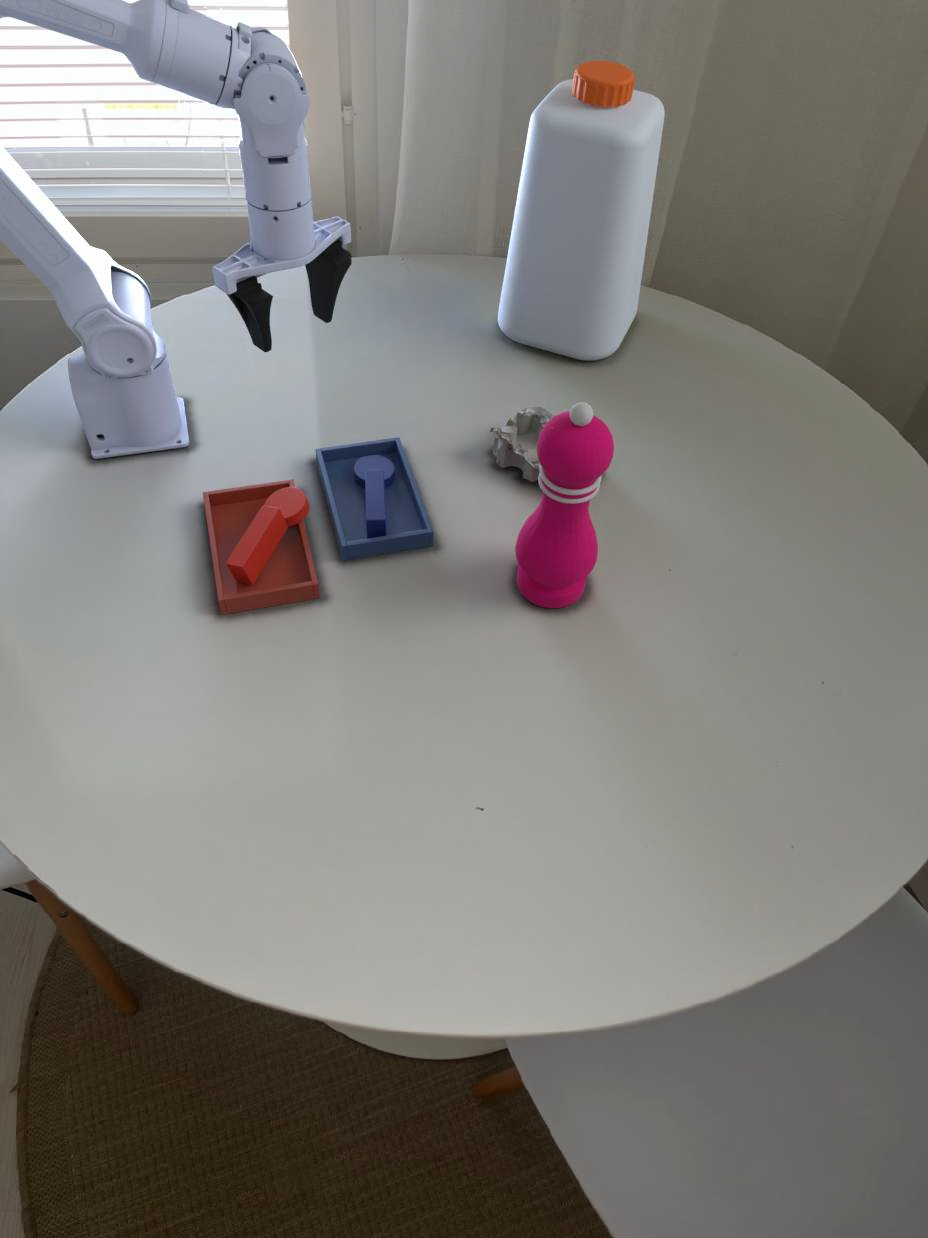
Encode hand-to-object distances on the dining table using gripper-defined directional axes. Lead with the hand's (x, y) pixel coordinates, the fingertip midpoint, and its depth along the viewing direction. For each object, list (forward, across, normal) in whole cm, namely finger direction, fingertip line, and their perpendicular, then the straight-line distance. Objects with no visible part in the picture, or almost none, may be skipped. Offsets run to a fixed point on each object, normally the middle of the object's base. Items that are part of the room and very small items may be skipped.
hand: (293, 332), depth 90 cm
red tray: (+9, +16, +14) cm, 23 cm away
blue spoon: (+9, +4, +17) cm, 19 cm away
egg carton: (+10, -13, +24) cm, 29 cm away
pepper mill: (+10, -1, +35) cm, 36 cm away
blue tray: (+9, +4, +16) cm, 19 cm away
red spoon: (+8, +15, +15) cm, 23 cm away
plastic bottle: (+10, -34, +8) cm, 37 cm away
